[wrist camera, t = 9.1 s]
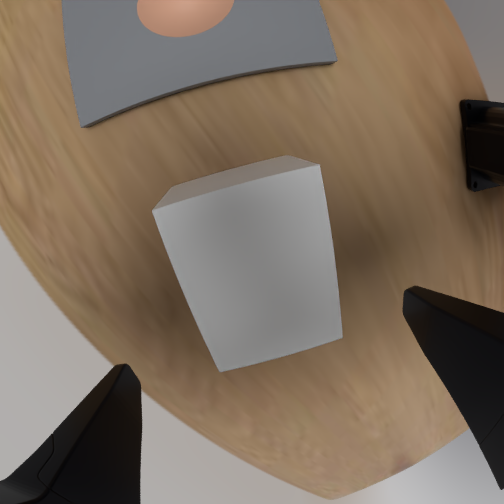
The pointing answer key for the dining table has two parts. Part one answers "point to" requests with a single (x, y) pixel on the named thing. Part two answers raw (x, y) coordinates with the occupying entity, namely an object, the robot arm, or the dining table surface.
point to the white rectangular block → (255, 259)
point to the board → (182, 46)
